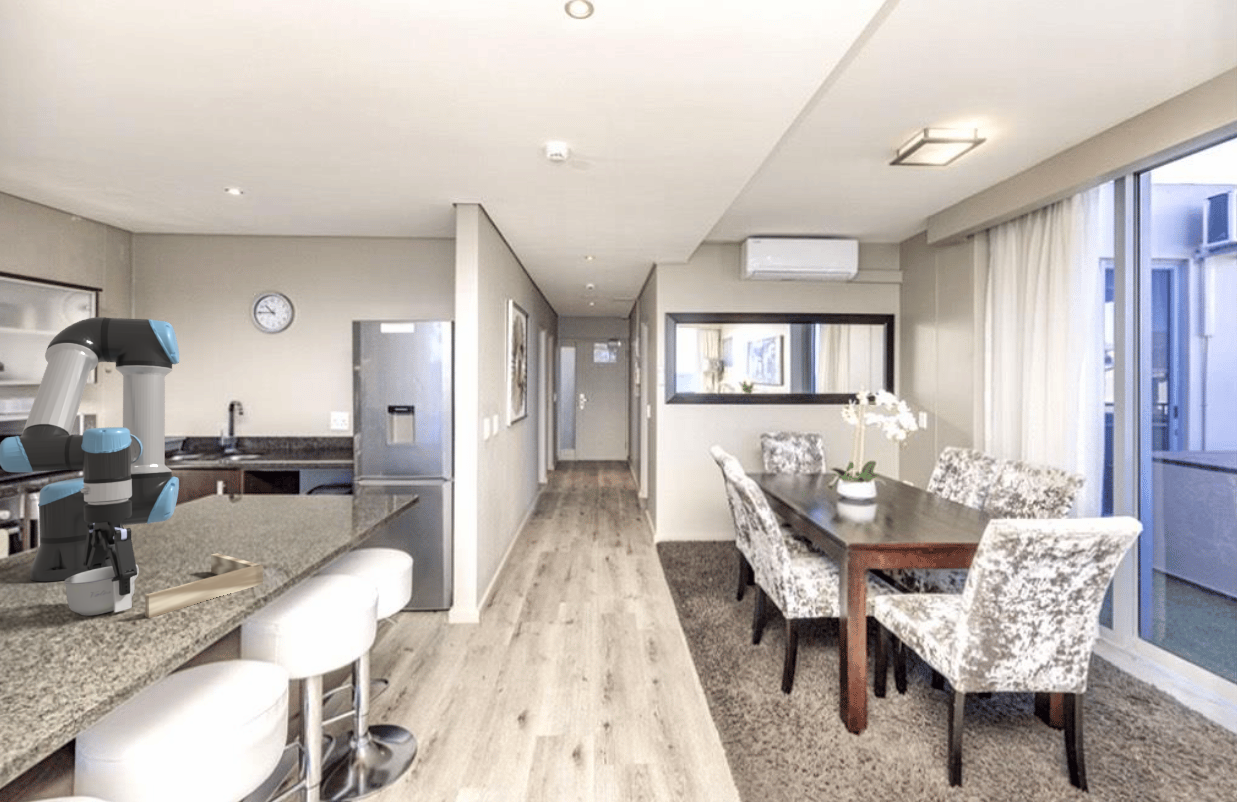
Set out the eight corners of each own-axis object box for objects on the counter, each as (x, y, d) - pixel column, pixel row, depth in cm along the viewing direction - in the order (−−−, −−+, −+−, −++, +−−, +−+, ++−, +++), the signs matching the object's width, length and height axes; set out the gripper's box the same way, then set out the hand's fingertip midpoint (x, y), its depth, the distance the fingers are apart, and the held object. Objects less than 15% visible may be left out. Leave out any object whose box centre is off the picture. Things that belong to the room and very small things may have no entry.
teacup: (92, 623, 112) (92, 583, 112) (50, 618, 114) (49, 578, 114) (162, 597, 126) (162, 561, 125) (123, 593, 128) (122, 558, 127)
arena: (104, 600, 124) (104, 579, 123) (217, 570, 143) (217, 553, 143) (149, 618, 114) (148, 596, 114) (262, 583, 134) (262, 565, 134)
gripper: (60, 498, 121) (62, 600, 122) (111, 510, 110) (113, 621, 111) (105, 493, 128) (107, 589, 128) (157, 503, 117) (158, 608, 117)
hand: (109, 604), depth 120 cm, fingers closed on teacup, 11 cm apart
